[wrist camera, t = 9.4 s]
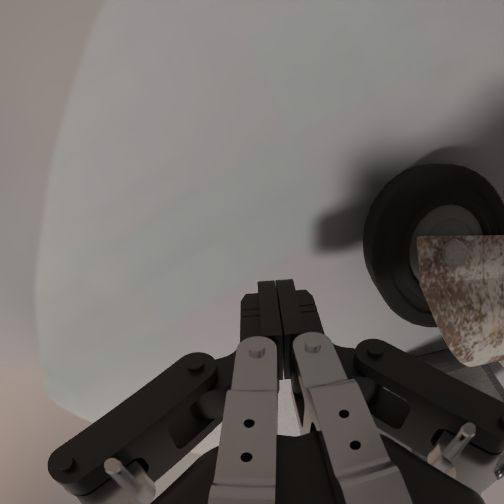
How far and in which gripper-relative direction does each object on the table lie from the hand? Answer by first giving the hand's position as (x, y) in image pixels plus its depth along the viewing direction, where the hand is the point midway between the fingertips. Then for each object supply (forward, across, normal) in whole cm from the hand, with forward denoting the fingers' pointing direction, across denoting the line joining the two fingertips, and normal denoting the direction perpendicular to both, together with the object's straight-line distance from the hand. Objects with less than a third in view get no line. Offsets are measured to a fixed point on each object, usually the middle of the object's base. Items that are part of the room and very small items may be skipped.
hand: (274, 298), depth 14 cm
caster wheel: (+4, -10, 0) cm, 10 cm away
